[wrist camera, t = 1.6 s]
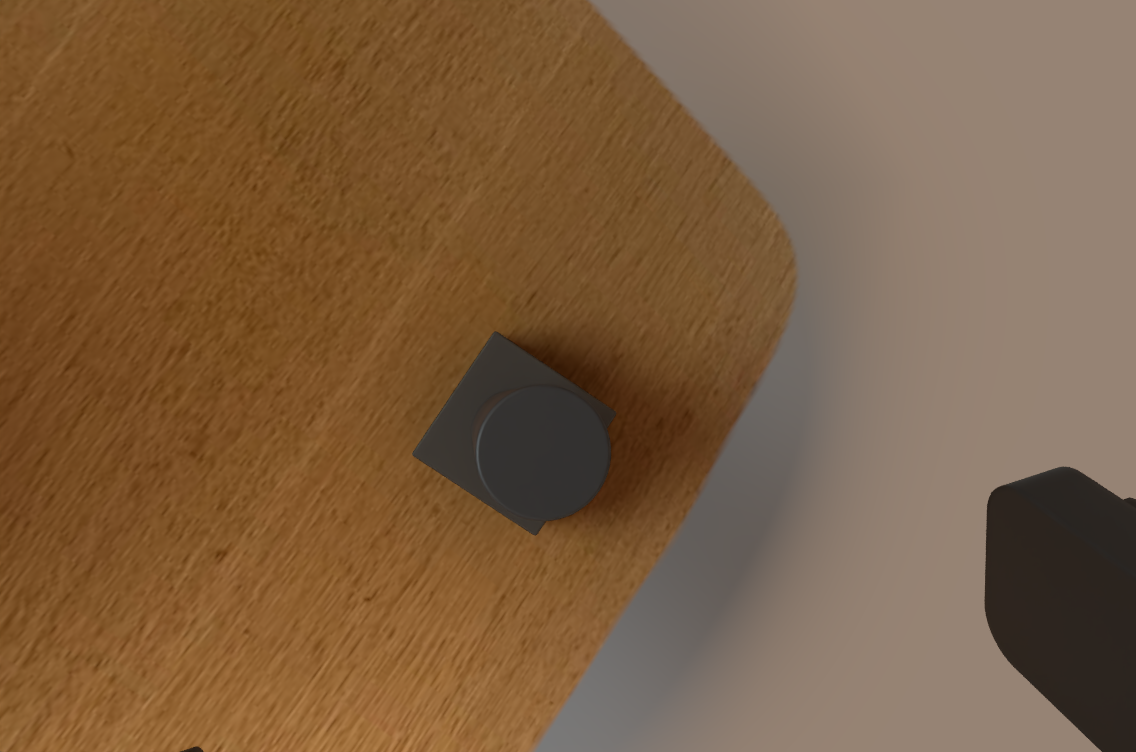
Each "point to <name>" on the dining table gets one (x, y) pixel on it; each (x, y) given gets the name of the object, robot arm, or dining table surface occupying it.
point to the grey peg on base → (520, 437)
